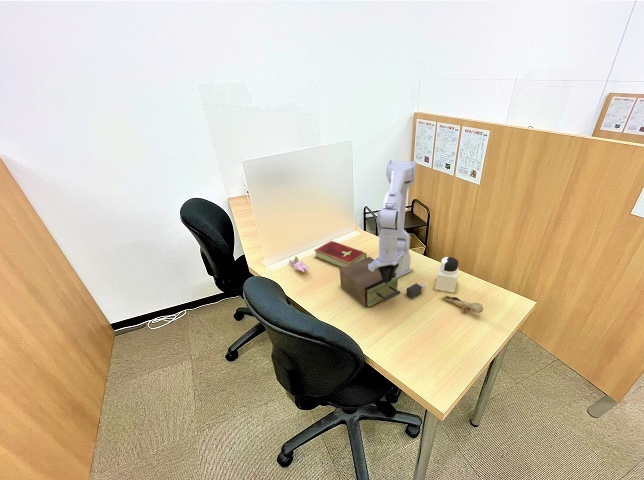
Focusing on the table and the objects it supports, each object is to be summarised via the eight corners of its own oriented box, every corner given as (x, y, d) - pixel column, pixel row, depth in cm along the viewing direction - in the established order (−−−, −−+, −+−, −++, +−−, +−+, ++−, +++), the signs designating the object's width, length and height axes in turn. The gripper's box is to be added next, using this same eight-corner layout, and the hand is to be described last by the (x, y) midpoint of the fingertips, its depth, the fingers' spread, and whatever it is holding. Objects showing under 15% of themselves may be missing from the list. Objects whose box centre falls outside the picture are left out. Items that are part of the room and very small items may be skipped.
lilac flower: (286, 267, 130) (299, 277, 118) (283, 255, 127) (296, 264, 116) (299, 262, 133) (313, 272, 121) (296, 250, 130) (310, 259, 119)
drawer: (406, 298, 105) (407, 283, 101) (378, 314, 99) (378, 298, 95) (372, 276, 118) (372, 261, 114) (346, 288, 112) (345, 273, 108)
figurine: (441, 305, 106) (479, 318, 95) (441, 294, 104) (479, 307, 93) (448, 301, 108) (485, 314, 97) (447, 290, 106) (485, 302, 95)
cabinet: (395, 291, 110) (396, 273, 106) (365, 307, 104) (364, 287, 99) (369, 274, 121) (369, 256, 116) (340, 287, 114) (339, 269, 109)
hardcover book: (332, 247, 142) (331, 239, 139) (366, 259, 131) (366, 251, 128) (315, 257, 134) (314, 249, 132) (349, 271, 123) (349, 263, 121)
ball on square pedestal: (455, 282, 114) (460, 256, 107) (454, 293, 109) (459, 266, 102) (437, 279, 116) (441, 253, 109) (435, 289, 111) (439, 263, 104)
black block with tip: (420, 287, 112) (421, 280, 110) (426, 291, 110) (427, 283, 108) (406, 295, 108) (406, 288, 107) (411, 299, 107) (412, 291, 105)
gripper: (378, 258, 85) (378, 294, 93) (413, 243, 92) (410, 278, 100) (363, 249, 90) (364, 284, 98) (398, 236, 97) (396, 270, 105)
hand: (386, 281), depth 99 cm, fingers closed
